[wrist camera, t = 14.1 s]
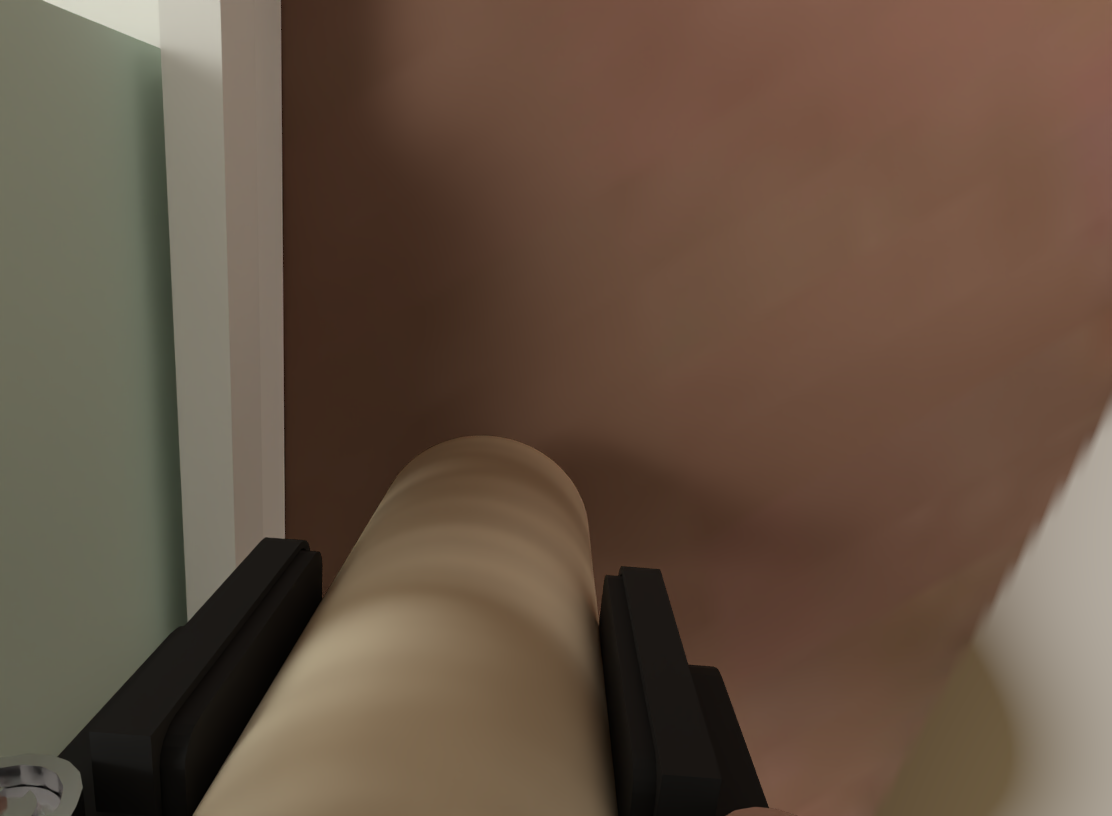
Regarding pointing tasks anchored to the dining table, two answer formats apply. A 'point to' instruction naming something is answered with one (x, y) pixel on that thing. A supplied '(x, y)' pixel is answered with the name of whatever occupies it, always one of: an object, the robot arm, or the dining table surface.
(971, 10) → the dining table surface
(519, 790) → the dowel
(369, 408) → the dining table surface
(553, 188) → the dining table surface
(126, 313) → the slide block
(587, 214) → the dining table surface
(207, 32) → the rail base
